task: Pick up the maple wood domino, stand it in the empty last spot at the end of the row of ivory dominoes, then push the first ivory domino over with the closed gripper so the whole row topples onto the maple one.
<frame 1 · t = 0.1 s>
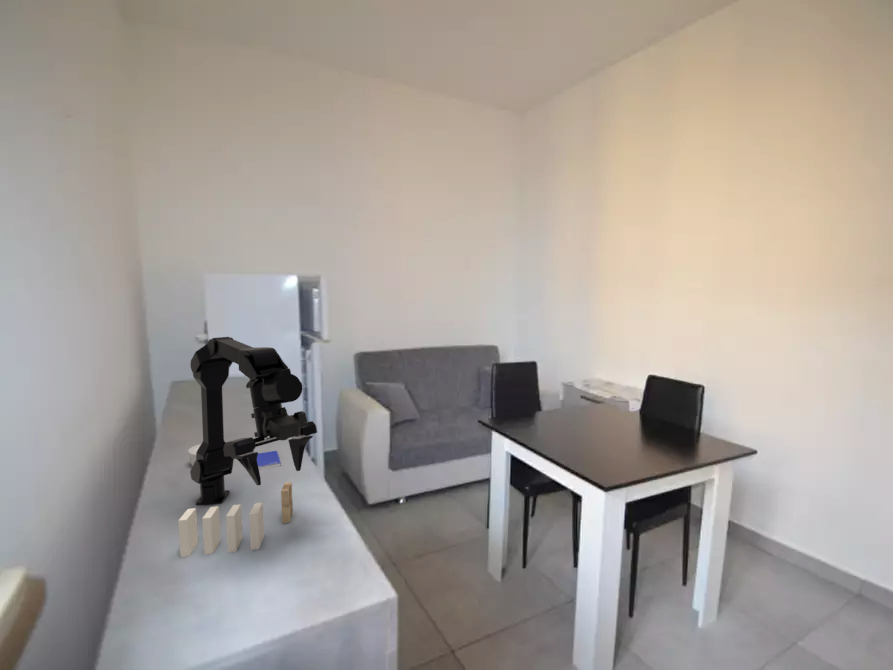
hand: (279, 477, 93), 15 cm above the counter, tool pointing down, fingers open, 9 cm apart
domino 4: (257, 542, 96), on the counter
domino 3: (235, 545, 95), on the counter
maple domino: (287, 517, 106), on the counter
ramekin: (208, 463, 141), on the counter
hard drive: (266, 463, 142), on the counter
domino 2: (212, 547, 94), on the counter
domino 1: (189, 549, 93), on the counter
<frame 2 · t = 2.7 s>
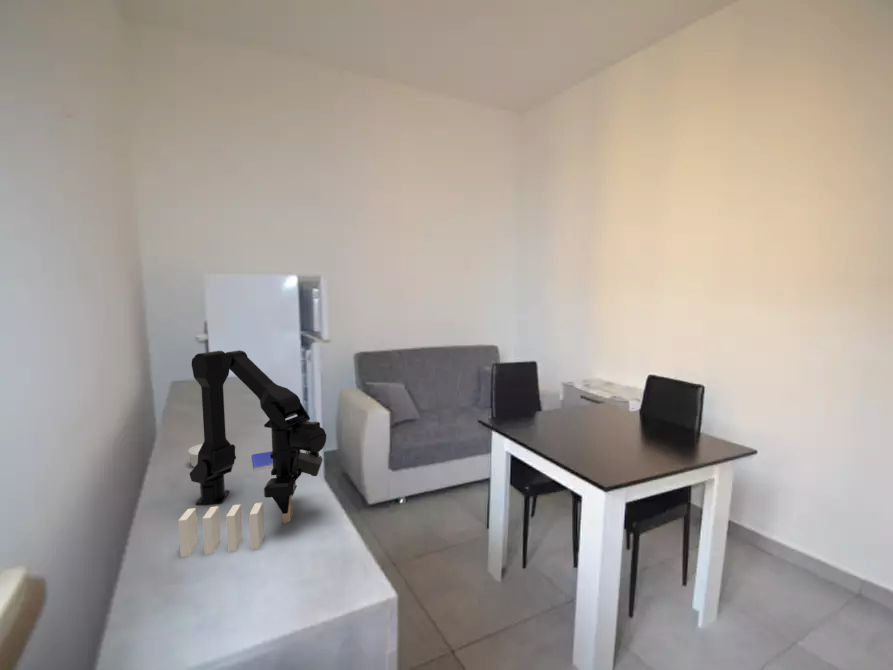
hand: (287, 507, 106), 3 cm above the counter, tool pointing down, fingers closed on maple domino, 5 cm apart
maple domino: (287, 517, 106), on the counter, touching gripper
everything else where it was.
when the fingers open (3 cm above the counter, at t = 7.4 s): maple domino stays where it is, on the counter.
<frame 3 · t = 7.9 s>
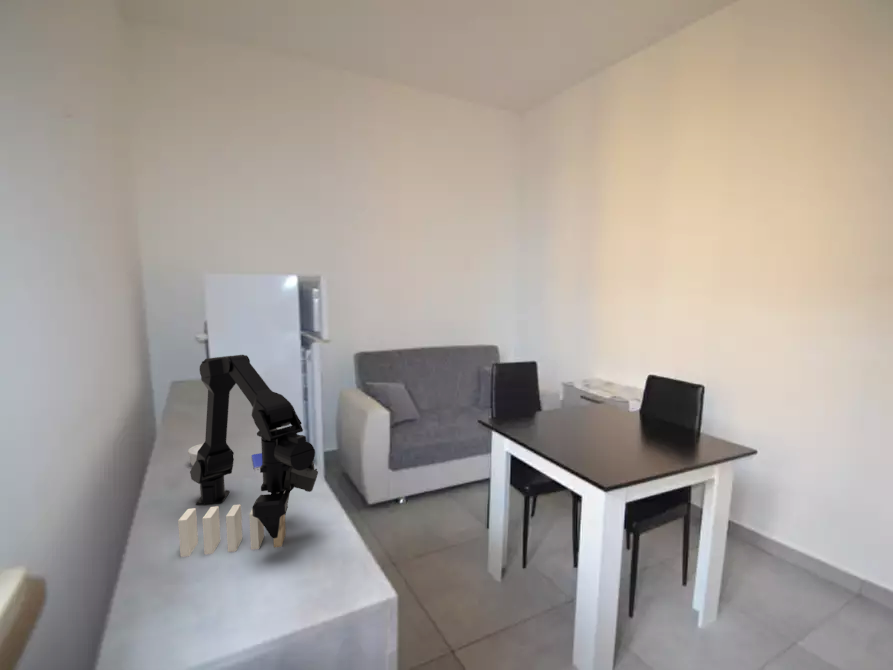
hand: (279, 526, 96), 3 cm above the counter, tool pointing down, fingers open, 9 cm apart
maple domino: (279, 540, 96), on the counter
everything else where it was.
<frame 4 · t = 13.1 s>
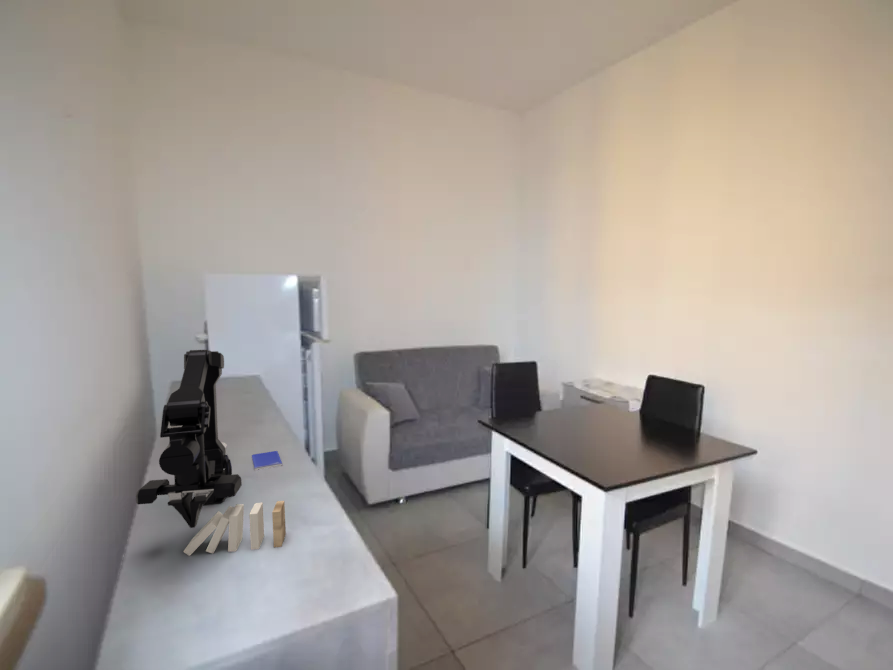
hand: (193, 526, 93), 5 cm above the counter, tool pointing down, fingers closed
domino 3: (235, 544, 95), on the counter, touching domino 2
domino 2: (213, 545, 94), on the counter, tilted 26°, touching domino 3
domino 1: (191, 547, 93), point 1 cm above the counter, tilted 44°
everything else where it was.
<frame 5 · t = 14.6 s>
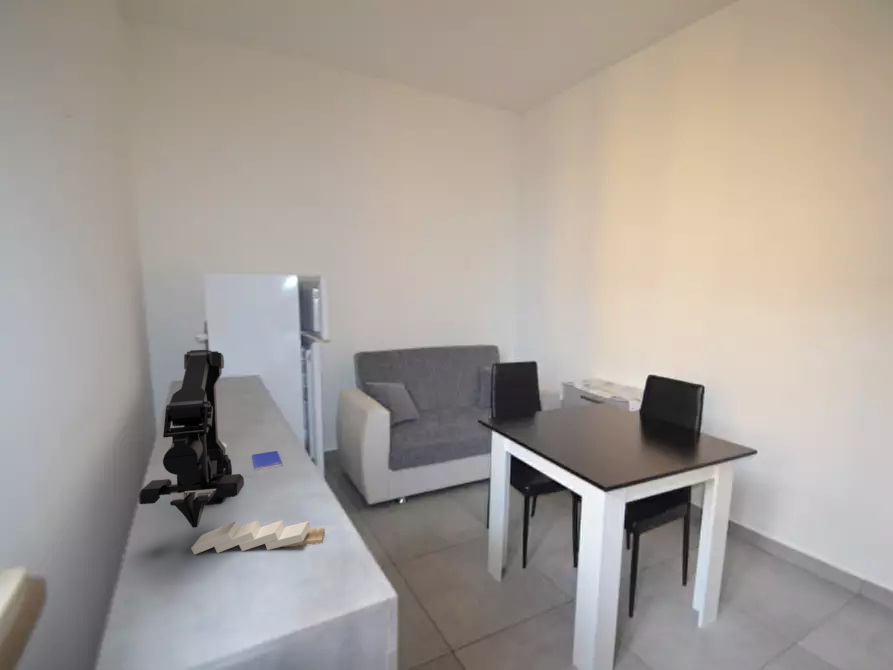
hand: (195, 526, 93), 5 cm above the counter, tool pointing down, fingers closed
domino 4: (270, 539, 95), point 1 cm above the counter, tilted 75°, touching domino 3, maple domino
domino 3: (245, 541, 95), point 1 cm above the counter, tilted 72°, touching domino 4
maple domino: (286, 540, 96), on the counter, tilted 90°, touching domino 4
domino 2: (220, 543, 94), point 1 cm above the counter, tilted 71°, touching domino 1
domino 1: (198, 544, 94), point 1 cm above the counter, tilted 70°, touching domino 2
everything else where it was.
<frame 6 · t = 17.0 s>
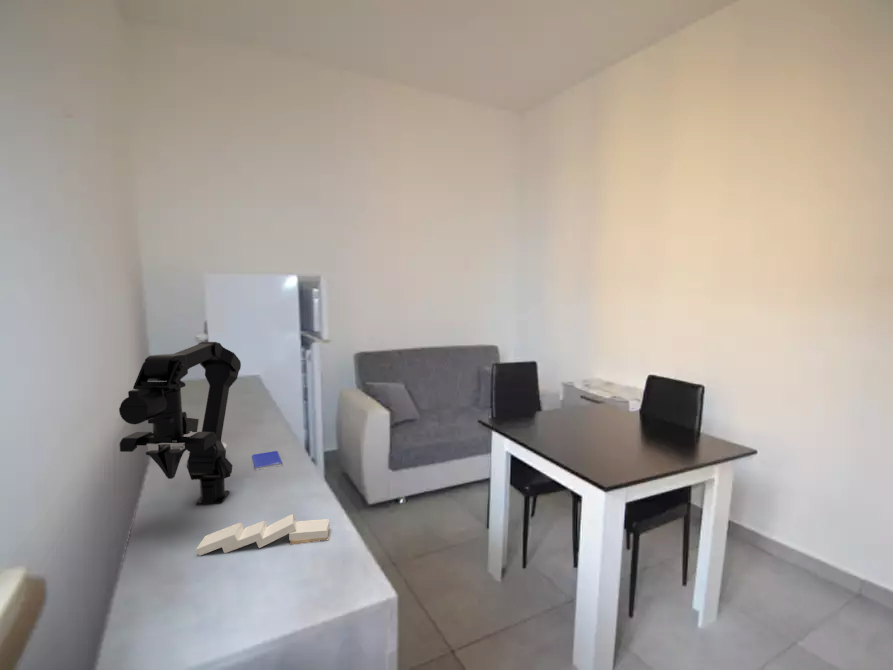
hand: (171, 478, 99), 13 cm above the counter, tool pointing down, fingers closed
domino 4: (291, 530, 97), point 2 cm above the counter, tilted 90°, touching domino 3, maple domino
domino 3: (258, 539, 95), point 1 cm above the counter, tilted 71°, touching domino 2, domino 4
maple domino: (291, 538, 97), on the counter, tilted 90°, touching domino 4
domino 2: (226, 543, 94), point 1 cm above the counter, tilted 73°, touching domino 1, domino 3
domino 1: (202, 545, 93), point 1 cm above the counter, tilted 72°, touching domino 2
everything else where it was.
at the end: maple domino inside the target area (0.5 cm from its centre), on the counter; maple domino tilted 90°; domino 1 tilted 71° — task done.
